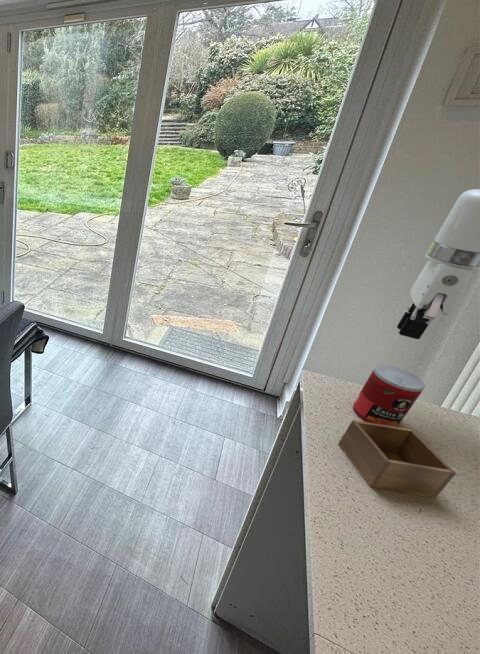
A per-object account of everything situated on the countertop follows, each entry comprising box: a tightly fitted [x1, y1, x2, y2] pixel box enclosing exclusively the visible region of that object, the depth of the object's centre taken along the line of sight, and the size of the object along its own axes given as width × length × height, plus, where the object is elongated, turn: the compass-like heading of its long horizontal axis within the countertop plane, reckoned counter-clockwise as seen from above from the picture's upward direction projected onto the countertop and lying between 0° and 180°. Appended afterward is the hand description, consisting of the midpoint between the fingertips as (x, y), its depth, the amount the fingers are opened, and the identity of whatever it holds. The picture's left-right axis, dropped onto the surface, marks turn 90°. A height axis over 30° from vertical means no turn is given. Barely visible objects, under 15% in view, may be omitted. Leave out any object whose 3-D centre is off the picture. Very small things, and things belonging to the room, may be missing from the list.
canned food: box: [352, 364, 426, 427], centre depth 87 cm, size 8×8×11 cm
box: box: [338, 420, 457, 499], centre depth 75 cm, size 10×10×6 cm
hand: (407, 332), depth 88 cm, fingers closed
